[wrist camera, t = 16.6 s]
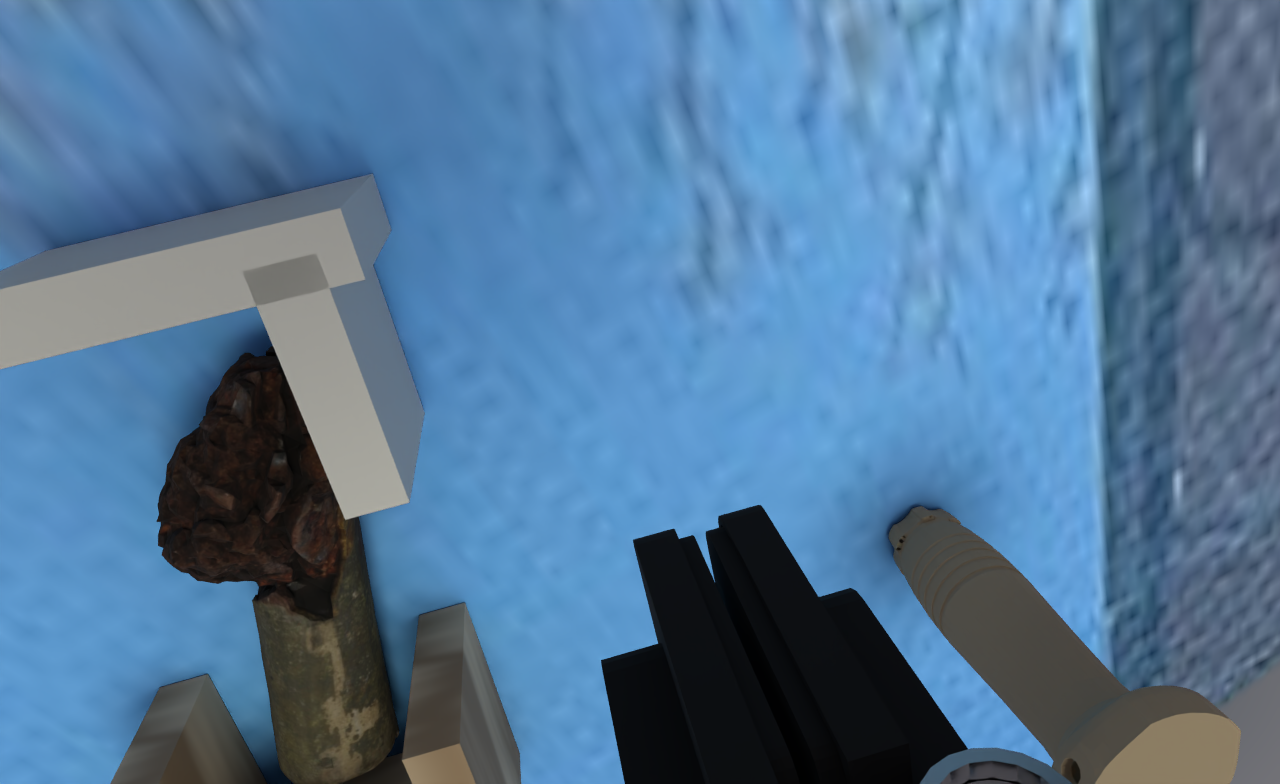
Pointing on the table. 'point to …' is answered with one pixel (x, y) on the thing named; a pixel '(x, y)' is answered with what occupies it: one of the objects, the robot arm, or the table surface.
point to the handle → (1057, 668)
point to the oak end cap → (413, 780)
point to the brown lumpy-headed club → (284, 570)
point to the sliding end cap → (287, 302)
